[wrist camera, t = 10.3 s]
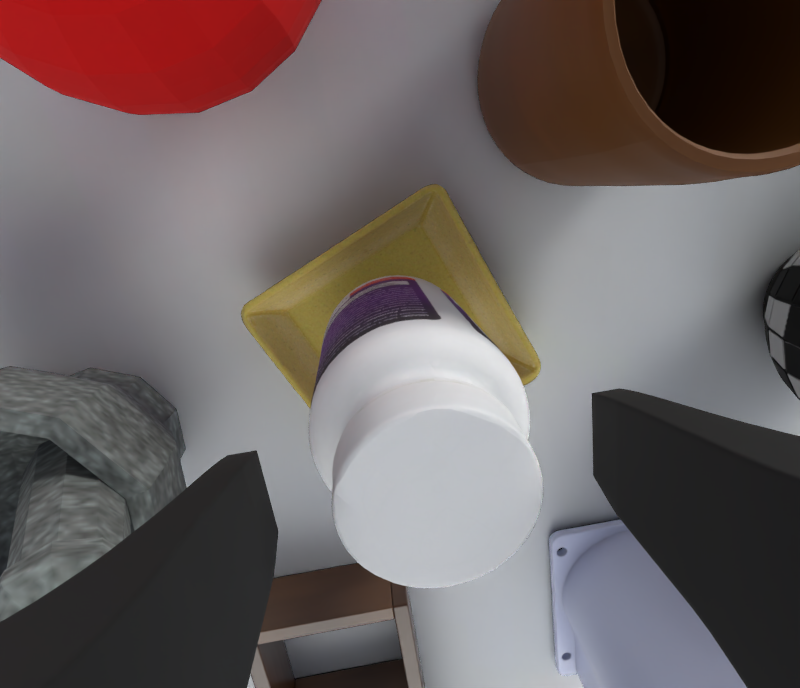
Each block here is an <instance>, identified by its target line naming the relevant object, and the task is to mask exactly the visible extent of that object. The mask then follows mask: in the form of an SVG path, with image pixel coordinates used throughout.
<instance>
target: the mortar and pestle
mask: <svg viewBox="0 0 800 688" xmlns="http://www.w3.org/2000/svg"><path fill="white" fill-rule="evenodd" d="M184 451H185V445H184V441H183V437H182V432H181V428H180V423H179V419H178V414H177V410H176V409H175V408H174V407H173V406H172V405H171V404H170V403H169V402H168V401H166V400H165V399H164V398H163V397H162V396H161V395H160V394H158V393H157V392H156V391H155V390H154V389H153V388H152V387H151V386H149V385H148V384H147V383H146V382H145V381H144V380H143V379H142V378H140V377H136V376H130V375H125V374H120V373H115V372H110V371H104V370H99V369H94V368H88V369H86V370H83V371H81V372H79V373H76V374H74V375H71V376H65V375H60V374H55V373H49V372H44V371H38V370H31V369H25V368H19V367H12V366H9V367H5V368H1V369H0V622H1V621H3V620H5V619H6V618H8V617H10V616H11V615H13V614H15V613H16V612H18V611H20V610H21V609H23V608H25V607H26V606H28V605H30V604H31V603H33V602H35V601H36V600H38V599H40V598H41V597H43V596H44V595H46V594H47V593H49V592H50V591H52V590H53V589H55V588H56V587H58V586H59V585H61V584H62V583H64V582H65V581H67V580H68V579H70V578H71V577H73V576H74V575H76V574H77V573H79V572H80V571H82V570H83V569H85V568H86V567H87V566H89V565H90V564H92V563H93V562H94V561H96V560H97V559H99V558H100V557H101V556H103V555H104V554H105V553H107V552H108V551H110V550H111V549H112V548H114V547H115V546H116V545H117V544H119V543H120V542H121V541H122V540H124V539H125V538H126V537H127V536H129V535H130V534H131V533H133V532H134V531H135V530H136V529H138V528H139V527H140V526H141V525H143V524H144V523H145V522H147V521H148V520H149V519H150V518H152V517H153V516H154V515H155V514H157V513H158V512H159V511H160V510H161V509H163V508H164V507H165V506H166V505H167V504H169V503H170V502H171V501H172V500H173V499H174V498H176V497H177V496H178V495H179V494H180V493H182V492H183V491H184V490H185V489H186V484H185V480H184V475H183V471H182V467H181V462H180V458H181V457H182V455H183V453H184Z"/></svg>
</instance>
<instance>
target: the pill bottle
mask: <svg viewBox="0 0 800 688" xmlns="http://www.w3.org/2000/svg"><path fill="white" fill-rule="evenodd" d="M529 432H530V412H529V405H528V399H527V395H526V392H525V389H524V386H523V384H522V382H521V379H520V377H519V375H518V374H517V372H516V370H515V369H514V367H513V366H512V364H511V363H510V361H509V360H508V359H507V357H506V356H505V355H504V354H503V353H502V351H501V350H500V349H499V348H498V347H497V346H496V345H495V344H494V343H493V342H492V341H491V339H490V338H489V337H488V336H487V335H486V334H485V333H484V332H483V331H482V330H481V328H480V327H479V326H478V325H477V324H476V323H475V322H474V321H473V320H472V319H471V318H470V317H469V315H468V314H467V313H466V312H465V311H464V310H463V309H462V308H461V307H460V306H459V304H458V303H456V302H455V300H454V299H453V298H452V297H450V296H449V295H448V294H447V293H446V292H444V291H443V290H442V289H440V288H439V287H437V286H436V285H434V284H432V283H430V282H428V281H426V280H423V279H420V278H416V277H411V276H403V275H394V276H384V277H380V278H376V279H373V280H370V281H368V282H366V283H363V284H362V285H360V286H358V287H357V288H355V289H354V290H352V291H351V292H350V293H349V294H347V295H346V296H345V297H344V298H343V299H342V301H341V302H340V303H339V304H338V306H337V307H336V308H335V310H334V312H333V313H332V315H331V317H330V320H329V322H328V324H327V327H326V330H325V334H324V338H323V344H322V349H321V356H320V361H319V366H318V371H317V376H316V382H315V386H314V391H313V396H312V400H311V408H310V416H309V442H310V448H311V452H312V456H313V459H314V462H315V465H316V467H317V470H318V472H319V474H320V476H321V477H322V479H323V481H324V482H325V484H326V485H327V487H328V488H329V489H330V491H331V492H332V511H333V519H334V523H335V526H336V530H337V533H338V535H339V538H340V540H341V541H342V543H343V545H344V546H345V548H346V549H347V551H348V552H349V554H350V555H351V556H352V557H353V558H354V559H355V560H356V561H357V562H358V563H359V564H360V565H361V566H363V567H364V568H365V569H367V570H368V571H370V572H371V573H373V574H375V575H376V576H378V577H381V578H383V579H386V580H388V581H390V582H392V583H396V584H399V585H403V586H409V587H415V588H442V587H448V586H454V585H457V584H461V583H465V582H469V581H471V580H474V579H477V578H479V577H481V576H483V575H485V574H487V573H489V572H491V571H493V570H495V569H496V568H497V567H499V566H500V565H501V564H503V563H504V562H505V561H506V560H508V559H509V558H510V557H511V556H512V555H514V554H515V553H516V552H517V550H518V549H519V548H520V547H521V546H522V545H523V543H524V542H525V541H526V539H527V538H528V536H529V535H530V533H531V531H532V530H533V528H534V526H535V523H536V521H537V519H538V515H539V513H540V510H541V504H542V499H543V479H542V473H541V469H540V465H539V462H538V459H537V457H536V454H535V452H534V450H533V449H532V447H531V445H530V443H529V442H528V437H529Z"/></svg>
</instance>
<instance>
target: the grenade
mask: <svg viewBox="0 0 800 688" xmlns="http://www.w3.org/2000/svg"><path fill="white" fill-rule="evenodd" d="M763 316H764V322H765V333H766V340H767V345H768V349H769V353H770V356H771V358H772V360H773V363H774V365H775V367H776V369H777V371H778V373H779V375H780V377H781V378H782V380H783V381H784V382H785V384H786V385H787V386H788V387H789V388H790V389H791V391H792V392H793V393H794V394H795V395H796V397H797V398H798V399H799V400H800V249H799V250H798V251H797V252H796V253H795V254H794V255H792V256H791V257H790V258H789V259H788V260H787V261H786V262H785V263H784V264H783V265H782V266H781V267H780V269H779V270H778V271H777V273H776V274H775V275H774V277H773V279H772V281H771V282H770V285H769V287H768V289H767V292H766V296H765V299H764V306H763Z"/></svg>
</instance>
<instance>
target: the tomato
mask: <svg viewBox="0 0 800 688" xmlns="http://www.w3.org/2000/svg"><path fill="white" fill-rule="evenodd" d="M321 1H322V0H0V58H1V59H3V60H5V61H6V62H8V63H9V64H11V65H13V66H14V67H16V68H18V69H19V70H21V71H22V72H24V73H26V74H27V75H29V76H30V77H32V78H34V79H35V80H37V81H38V82H40V83H42V84H43V85H45V86H47V87H49V88H51V89H53V90H55V91H57V92H59V93H61V94H63V95H66V96H70V97H73V98H77V99H80V100H84V101H87V102H91V103H94V104H98V105H101V106H105V107H108V108H112V109H115V110H119V111H122V112H126V113H130V114H137V115H149V114H174V113H199V112H202V111H204V110H206V109H209V108H211V107H214V106H216V105H219V104H221V103H223V102H226V101H228V100H231V99H233V98H236V97H238V96H240V95H243V94H245V93H248V92H250V91H252V90H253V89H254V88H255V87H256V86H258V85H259V84H260V83H261V82H262V81H263V80H264V79H265V78H266V77H267V76H268V75H269V74H270V73H272V72H273V71H274V70H275V69H276V68H277V67H278V66H279V65H280V64H281V63H282V62H283V61H284V60H286V59H287V58H288V57H289V56H290V55H291V54H292V53H293V52H294V51H295V50H296V48H297V46H298V44H299V42H300V40H301V38H302V36H303V35H304V33H305V31H306V29H307V27H308V25H309V23H310V21H311V20H312V18H313V16H314V14H315V12H316V10H317V8H318V6H319V4H320V3H321Z"/></svg>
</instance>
